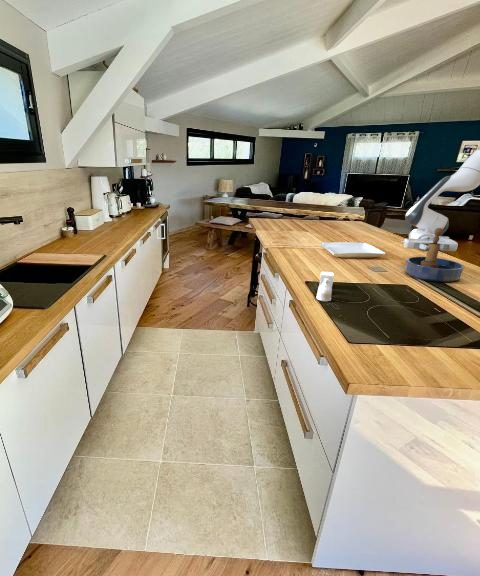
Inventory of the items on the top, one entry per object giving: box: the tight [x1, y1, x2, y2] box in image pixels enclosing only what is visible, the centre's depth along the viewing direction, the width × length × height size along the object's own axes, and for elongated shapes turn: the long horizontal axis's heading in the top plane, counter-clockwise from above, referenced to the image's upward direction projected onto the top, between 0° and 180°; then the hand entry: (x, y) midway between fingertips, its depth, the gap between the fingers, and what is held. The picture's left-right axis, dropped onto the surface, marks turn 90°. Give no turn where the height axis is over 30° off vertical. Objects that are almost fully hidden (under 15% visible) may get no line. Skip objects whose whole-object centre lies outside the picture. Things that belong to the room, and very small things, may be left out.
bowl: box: [403, 256, 465, 283], centre depth 140 cm, size 21×21×6 cm
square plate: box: [319, 241, 387, 259], centre depth 179 cm, size 27×27×4 cm
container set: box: [315, 271, 335, 302], centre depth 123 cm, size 20×5×6 cm, turn 156°
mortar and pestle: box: [421, 228, 443, 268], centre depth 139 cm, size 7×6×18 cm
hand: (434, 248), depth 139 cm, fingers closed on mortar and pestle, 4 cm apart
